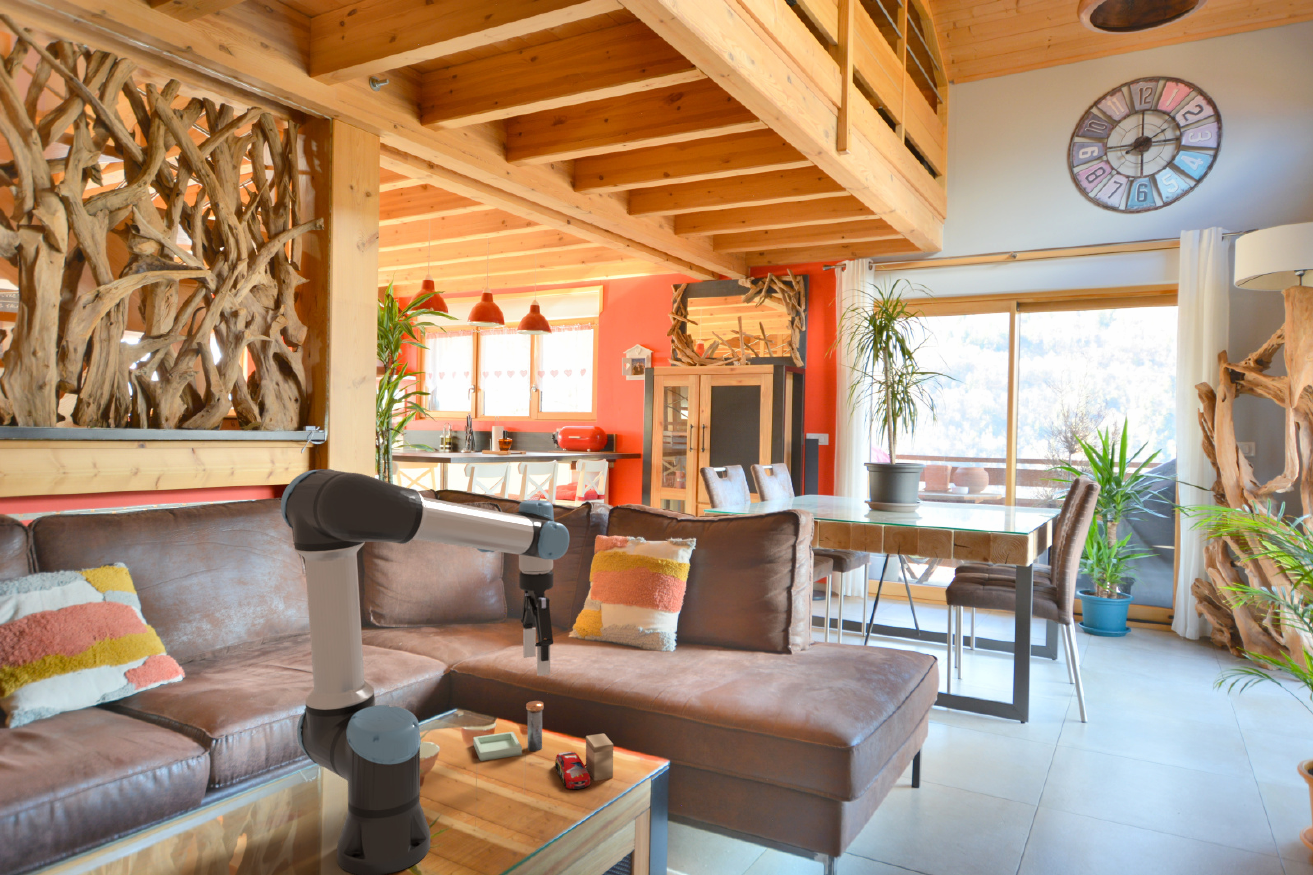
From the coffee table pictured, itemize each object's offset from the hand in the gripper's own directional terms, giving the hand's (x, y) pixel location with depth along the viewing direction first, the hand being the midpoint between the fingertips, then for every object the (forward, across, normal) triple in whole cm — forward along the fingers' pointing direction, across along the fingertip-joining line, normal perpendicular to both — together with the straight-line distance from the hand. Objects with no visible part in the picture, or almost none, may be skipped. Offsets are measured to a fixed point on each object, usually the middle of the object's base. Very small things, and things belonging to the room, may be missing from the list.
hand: (536, 665), depth 183 cm
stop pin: (+19, 0, 0) cm, 19 cm away
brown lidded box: (+19, -17, -9) cm, 27 cm away
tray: (+19, +2, +8) cm, 20 cm away
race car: (+19, -16, -4) cm, 25 cm away
